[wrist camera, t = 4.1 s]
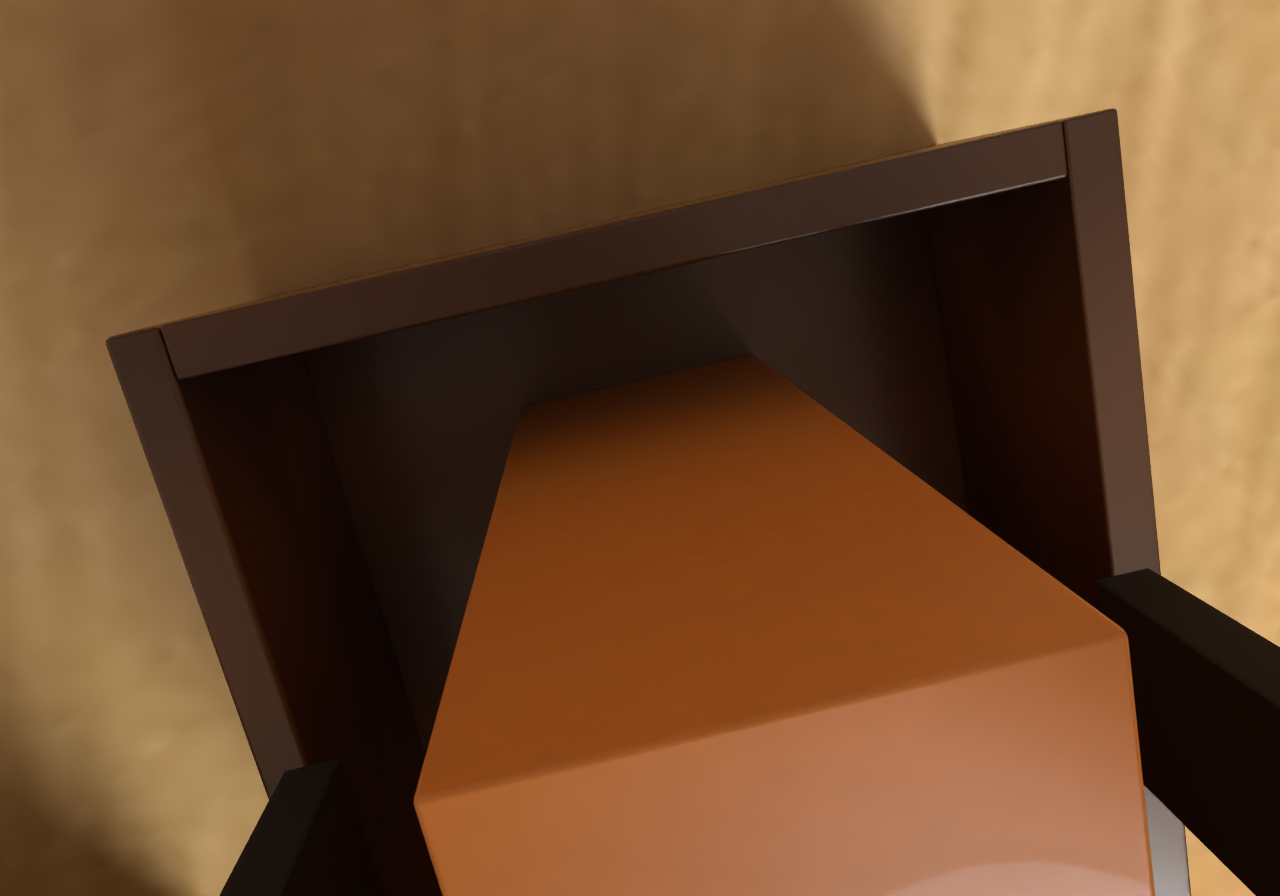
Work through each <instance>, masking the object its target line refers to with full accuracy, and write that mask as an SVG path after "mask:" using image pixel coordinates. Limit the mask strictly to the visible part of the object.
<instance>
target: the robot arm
mask: <svg viewBox="0 0 1280 896" xmlns="http://www.w3.org/2000/svg"><path fill="white" fill-rule="evenodd" d="M1094 583H1095V592H1096V601H1097V610H1098V611H1100V612H1101V613H1102V614H1104V615H1105V616H1106V617H1108V618H1109V619H1110V620H1112V621H1113V622H1114V623H1116V624H1117V625H1118V626H1120V627H1121V628H1122V629H1124V631H1125V632H1126V634H1127V636H1128V643H1129V652H1130V662H1131V671H1132V681H1133V690H1134V700H1135V709H1136V719H1137V728H1138V738H1139V747H1140V757H1141V766H1142V776H1143V785H1144V786H1145V787H1146V788H1147V789H1148V790H1149V791H1150V792H1151V793H1152V794H1153V795H1154V796H1155V797H1157V798H1158V799H1159V800H1160V801H1161V802H1162V803H1163V804H1164V805H1165V806H1166V807H1167V808H1168V809H1169V810H1170V811H1171V812H1172V813H1173V814H1174V815H1175V816H1176V817H1177V818H1178V819H1179V820H1180V821H1181V822H1182V823H1183V824H1184V825H1185V826H1186V827H1187V828H1188V829H1189V830H1190V831H1191V832H1192V833H1193V834H1194V835H1195V836H1196V837H1197V838H1198V839H1199V840H1200V841H1201V842H1202V843H1203V844H1204V845H1205V846H1206V847H1207V848H1208V849H1209V850H1210V851H1211V852H1212V853H1213V854H1214V855H1215V856H1216V857H1217V858H1218V859H1219V860H1220V861H1221V862H1222V863H1223V864H1224V865H1225V866H1226V867H1227V868H1228V869H1229V870H1230V871H1231V872H1233V873H1234V874H1235V875H1236V876H1237V877H1238V878H1239V879H1240V880H1241V881H1242V882H1243V883H1244V884H1245V885H1246V886H1247V887H1248V888H1249V889H1250V890H1251V891H1252V892H1253V893H1254V894H1255V895H1256V896H1280V647H1278V646H1277V645H1275V644H1273V643H1272V642H1270V641H1268V640H1267V639H1265V638H1263V637H1262V636H1260V635H1259V634H1257V633H1255V632H1254V631H1252V630H1250V629H1249V628H1247V627H1245V626H1244V625H1242V624H1240V623H1239V622H1237V621H1235V620H1234V619H1232V618H1230V617H1229V616H1227V615H1225V614H1224V613H1222V612H1220V611H1219V610H1217V609H1215V608H1214V607H1212V606H1210V605H1209V604H1207V603H1205V602H1204V601H1202V600H1200V599H1199V598H1197V597H1195V596H1194V595H1192V594H1190V593H1189V592H1187V591H1185V590H1184V589H1182V588H1181V587H1179V586H1177V585H1176V584H1174V583H1172V582H1171V581H1169V580H1167V579H1166V578H1164V577H1162V576H1161V575H1159V574H1157V573H1156V572H1154V571H1152V570H1151V569H1149V568H1146V569H1142V570H1137V571H1133V572H1129V573H1125V574H1120V575H1116V576H1112V577H1108V578H1103V579H1099V580H1095V581H1094ZM220 896H386V895H385V892H384V889H383V886H382V883H381V880H380V877H379V874H378V871H377V868H376V865H375V862H374V859H373V856H372V853H371V850H370V847H369V844H368V841H367V838H366V835H365V832H364V829H363V826H362V823H361V820H360V817H359V814H358V811H357V808H356V805H355V802H354V799H353V796H352V793H351V790H350V787H349V784H348V781H347V778H346V775H345V772H344V769H343V766H342V763H341V760H340V758H339V759H335V760H331V761H326V762H322V763H318V764H314V765H309V766H305V767H301V768H297V769H292V770H288V771H284V773H283V775H282V777H281V779H280V781H279V783H278V785H277V787H276V789H275V791H274V792H273V794H272V796H271V798H270V800H269V802H268V804H267V806H266V808H265V810H264V812H263V813H262V815H261V817H260V819H259V821H258V823H257V825H256V827H255V829H254V831H253V833H252V834H251V836H250V838H249V840H248V842H247V844H246V846H245V848H244V850H243V852H242V854H241V855H240V857H239V859H238V861H237V863H236V865H235V867H234V869H233V871H232V873H231V875H230V876H229V878H228V880H227V882H226V884H225V886H224V888H223V890H222V892H221V894H220Z"/></svg>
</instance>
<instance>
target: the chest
mask: <svg viewBox="0 0 1280 896" xmlns="http://www.w3.org/2000/svg"><path fill="white" fill-rule="evenodd" d="M106 346H107V349H108V351H109V354H110V357H111V360H112V363H113V365H114V368H115V371H116V374H117V376H118V379H119V382H120V385H121V388H122V390H123V393H124V396H125V399H126V402H127V404H128V407H129V410H130V413H131V416H132V418H133V421H134V424H135V427H136V430H137V432H138V435H139V438H140V441H141V444H142V446H143V449H144V452H145V455H146V458H147V460H148V463H149V466H150V469H151V471H152V474H153V477H154V480H155V483H156V485H157V488H158V491H159V494H160V497H161V499H162V502H163V505H164V508H165V511H166V513H167V516H168V519H169V522H170V525H171V527H172V530H173V533H174V536H175V539H176V541H177V544H178V547H179V550H180V553H181V555H182V558H183V561H184V564H185V567H186V569H187V572H188V575H189V578H190V580H191V583H192V586H193V589H194V592H195V594H196V597H197V600H198V603H199V606H200V608H201V611H202V614H203V617H204V620H205V622H206V625H207V628H208V631H209V634H210V636H211V639H212V642H213V645H214V648H215V650H216V653H217V656H218V659H219V662H220V664H221V667H222V670H223V673H224V675H225V678H226V681H227V684H228V687H229V689H230V692H231V695H232V698H233V701H234V703H235V706H236V709H237V712H238V715H239V717H240V720H241V723H242V726H243V729H244V731H245V734H246V737H247V740H248V743H249V745H250V748H251V751H252V754H253V757H254V759H255V762H256V765H257V768H258V770H259V773H260V776H261V779H262V782H263V784H264V787H265V790H266V793H267V796H268V798H269V800H270V798H271V796H272V794H273V792H274V791H275V789H276V787H277V785H278V783H279V781H280V779H281V777H282V775H283V773H284V771H288V770H292V769H297V768H301V767H305V766H309V765H314V764H318V763H322V762H326V761H331V760H335V759H339V758H340V760H341V763H342V766H343V769H344V772H345V775H346V778H347V781H348V784H349V787H350V790H351V793H352V796H353V799H354V802H355V805H356V808H357V811H358V814H359V817H360V820H361V823H362V826H363V829H364V832H365V835H366V838H367V841H368V844H369V847H370V850H371V853H372V856H373V859H374V862H375V865H376V868H377V871H378V874H379V877H380V880H381V883H382V886H383V889H384V892H385V895H386V896H443V895H442V892H441V889H440V886H439V883H438V880H437V876H436V873H435V870H434V867H433V864H432V861H431V857H430V854H429V851H428V848H427V845H426V842H425V839H424V835H423V832H422V829H421V826H420V823H419V820H418V816H417V813H416V810H415V807H414V804H413V803H414V796H415V793H416V789H417V786H418V782H419V778H420V775H421V771H422V767H423V764H424V760H425V756H426V753H427V749H428V745H429V742H430V738H431V734H432V731H433V727H434V724H435V720H436V716H437V713H438V709H439V705H440V702H441V698H442V694H443V691H444V687H445V683H446V680H447V676H448V673H449V669H450V665H451V662H452V658H453V654H454V651H455V647H456V643H457V640H458V636H459V632H460V629H461V625H462V621H463V618H464V614H465V611H466V607H467V603H468V600H469V596H470V592H471V589H472V585H473V581H474V578H475V574H476V570H477V567H478V563H479V560H480V556H481V552H482V549H483V545H484V541H485V538H486V534H487V530H488V527H489V523H490V519H491V516H492V512H493V508H494V505H495V501H496V498H497V494H498V490H499V487H500V483H501V479H502V476H503V472H504V468H505V465H506V461H507V457H508V454H509V450H510V447H511V443H512V439H513V436H514V432H515V428H516V425H517V421H518V417H519V414H520V410H521V408H522V407H526V406H530V405H535V404H539V403H543V402H548V401H552V400H556V399H561V398H565V397H569V396H574V395H578V394H582V393H587V392H591V391H595V390H600V389H604V388H608V387H613V386H617V385H621V384H626V383H630V382H634V381H639V380H643V379H647V378H652V377H656V376H660V375H665V374H669V373H673V372H678V371H682V370H686V369H691V368H695V367H699V366H704V365H708V364H712V363H717V362H721V361H726V360H730V359H734V358H739V357H743V356H747V355H754V356H755V357H757V358H758V359H760V360H761V361H762V362H764V363H765V364H766V365H768V366H769V367H770V368H772V369H773V370H774V371H776V372H777V373H778V374H780V375H781V376H782V377H784V378H785V379H787V380H788V381H789V382H791V383H792V384H793V385H795V386H796V387H797V388H799V389H800V390H801V391H803V392H804V393H805V394H807V395H808V396H809V397H811V398H812V399H813V400H815V401H816V402H818V403H819V404H820V405H822V406H823V407H824V408H826V409H827V410H828V411H830V412H831V413H832V414H834V415H835V416H836V417H838V418H839V419H840V420H842V421H843V422H845V423H846V424H847V425H849V426H850V427H851V428H853V429H854V430H855V431H857V432H858V433H859V434H861V435H862V436H863V437H865V438H866V439H867V440H869V441H870V442H872V443H873V444H874V445H876V446H877V447H878V448H880V449H881V450H882V451H884V452H885V453H886V454H888V455H889V456H890V457H892V458H893V459H894V460H896V461H897V462H898V463H900V464H901V465H903V466H904V467H905V468H907V469H908V470H909V471H911V472H912V473H913V474H915V475H916V476H917V477H919V478H920V479H921V480H923V481H924V482H925V483H927V484H928V485H930V486H931V487H932V488H934V489H935V490H936V491H938V492H939V493H940V494H942V495H943V496H944V497H946V498H947V499H948V500H950V501H951V502H952V503H954V504H955V505H957V506H958V507H959V508H961V509H962V510H963V511H965V512H966V513H967V514H969V515H970V516H971V517H973V518H974V519H975V520H977V521H978V522H979V523H981V524H982V525H983V526H985V527H986V528H988V529H989V530H990V531H992V532H993V533H994V534H996V535H997V536H998V537H1000V538H1001V539H1002V540H1004V541H1005V542H1006V543H1008V544H1009V545H1010V546H1012V547H1013V548H1015V549H1016V550H1017V551H1019V552H1020V553H1021V554H1023V555H1024V556H1025V557H1027V558H1028V559H1029V560H1031V561H1032V562H1033V563H1035V564H1036V565H1037V566H1039V567H1040V568H1042V569H1043V570H1044V571H1046V572H1047V573H1048V574H1050V575H1051V576H1052V577H1054V578H1055V579H1056V580H1058V581H1059V582H1060V583H1062V584H1063V585H1064V586H1066V587H1067V588H1068V589H1070V590H1071V591H1073V592H1074V593H1075V594H1077V595H1078V596H1079V597H1081V598H1082V599H1083V600H1085V601H1086V602H1087V603H1089V604H1090V605H1091V606H1093V607H1094V608H1095V609H1097V601H1096V592H1095V583H1094V581H1095V580H1099V579H1103V578H1108V577H1112V576H1116V575H1120V574H1125V573H1129V572H1133V571H1137V570H1142V569H1146V568H1149V569H1151V570H1152V571H1154V572H1156V573H1157V574H1159V575H1161V572H1160V561H1159V551H1158V540H1157V530H1156V519H1155V509H1154V498H1153V487H1152V477H1151V466H1150V456H1149V445H1148V435H1147V424H1146V413H1145V403H1144V392H1143V382H1142V371H1141V360H1140V350H1139V339H1138V329H1137V318H1136V308H1135V297H1134V286H1133V276H1132V265H1131V255H1130V244H1129V234H1128V223H1127V212H1126V202H1125V191H1124V181H1123V170H1122V160H1121V149H1120V138H1119V128H1118V117H1117V111H1116V109H1107V110H1102V111H1097V112H1093V113H1088V114H1083V115H1078V116H1073V117H1069V118H1064V119H1059V120H1054V121H1049V122H1045V123H1040V124H1035V125H1030V126H1025V127H1021V128H1016V129H1011V130H1006V131H1001V132H997V133H992V134H987V135H982V136H977V137H973V138H968V139H963V140H958V141H953V142H949V143H944V144H939V145H935V146H930V147H926V148H921V149H917V150H913V151H908V152H904V153H899V154H895V155H891V156H886V157H882V158H877V159H873V160H869V161H864V162H860V163H856V164H851V165H847V166H842V167H838V168H834V169H829V170H825V171H820V172H816V173H812V174H807V175H803V176H798V177H794V178H790V179H785V180H781V181H777V182H772V183H768V184H763V185H759V186H755V187H750V188H746V189H741V190H737V191H733V192H728V193H724V194H719V195H715V196H711V197H706V198H702V199H698V200H693V201H689V202H684V203H680V204H676V205H671V206H667V207H662V208H658V209H654V210H649V211H645V212H640V213H636V214H632V215H627V216H623V217H619V218H614V219H610V220H605V221H601V222H597V223H592V224H588V225H583V226H579V227H575V228H570V229H566V230H561V231H557V232H553V233H548V234H544V235H540V236H535V237H531V238H526V239H522V240H518V241H513V242H509V243H504V244H500V245H496V246H491V247H487V248H483V249H478V250H474V251H469V252H465V253H461V254H456V255H452V256H447V257H443V258H439V259H434V260H430V261H425V262H421V263H417V264H412V265H408V266H404V267H399V268H395V269H390V270H386V271H382V272H377V273H373V274H368V275H364V276H360V277H355V278H351V279H346V280H342V281H338V282H333V283H329V284H325V285H320V286H316V287H311V288H307V289H303V290H298V291H294V292H289V293H285V294H281V295H276V296H272V297H267V298H263V299H259V300H255V301H251V302H247V303H243V304H239V305H235V306H231V307H227V308H223V309H219V310H215V311H211V312H207V313H203V314H199V315H195V316H191V317H187V318H183V319H179V320H175V321H171V322H167V323H163V324H159V325H155V326H151V327H147V328H143V329H139V330H135V331H131V332H127V333H123V334H119V335H115V336H111V337H110V338H108V339H107V340H106ZM1144 795H1145V804H1146V814H1147V823H1148V833H1149V842H1150V852H1151V861H1152V871H1153V880H1154V890H1155V896H1191V889H1190V879H1189V868H1188V858H1187V847H1186V836H1185V826H1184V824H1183V823H1182V822H1181V821H1180V820H1179V819H1178V818H1177V817H1176V816H1175V815H1174V814H1173V813H1172V812H1171V811H1170V810H1169V809H1168V808H1167V807H1166V806H1165V805H1164V804H1163V803H1162V802H1161V801H1160V800H1159V799H1158V798H1157V797H1155V796H1154V795H1153V794H1152V793H1151V792H1150V791H1149V790H1148V789H1147V788H1146V787H1145V786H1144Z"/></svg>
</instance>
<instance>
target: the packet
mask: <svg viewBox="0 0 1280 896" xmlns="http://www.w3.org/2000/svg"><path fill="white" fill-rule="evenodd" d="M413 804H414V807H415V810H416V813H417V816H418V820H419V823H420V826H421V829H422V832H423V835H424V839H425V842H426V845H427V848H428V851H429V854H430V857H431V861H432V864H433V867H434V870H435V873H436V876H437V880H438V883H439V886H440V889H441V892H442V895H443V896H1155V890H1154V880H1153V871H1152V861H1151V852H1150V842H1149V833H1148V823H1147V814H1146V804H1145V795H1144V785H1143V776H1142V766H1141V757H1140V747H1139V738H1138V728H1137V719H1136V709H1135V700H1134V690H1133V681H1132V671H1131V662H1130V652H1129V643H1128V636H1127V634H1126V632H1125V631H1124V629H1122V628H1121V627H1120V626H1118V625H1117V624H1116V623H1114V622H1113V621H1112V620H1110V619H1109V618H1108V617H1106V616H1105V615H1104V614H1102V613H1101V612H1100V611H1098V610H1097V609H1095V608H1094V607H1093V606H1091V605H1090V604H1089V603H1087V602H1086V601H1085V600H1083V599H1082V598H1081V597H1079V596H1078V595H1077V594H1075V593H1074V592H1073V591H1071V590H1070V589H1068V588H1067V587H1066V586H1064V585H1063V584H1062V583H1060V582H1059V581H1058V580H1056V579H1055V578H1054V577H1052V576H1051V575H1050V574H1048V573H1047V572H1046V571H1044V570H1043V569H1042V568H1040V567H1039V566H1037V565H1036V564H1035V563H1033V562H1032V561H1031V560H1029V559H1028V558H1027V557H1025V556H1024V555H1023V554H1021V553H1020V552H1019V551H1017V550H1016V549H1015V548H1013V547H1012V546H1010V545H1009V544H1008V543H1006V542H1005V541H1004V540H1002V539H1001V538H1000V537H998V536H997V535H996V534H994V533H993V532H992V531H990V530H989V529H988V528H986V527H985V526H983V525H982V524H981V523H979V522H978V521H977V520H975V519H974V518H973V517H971V516H970V515H969V514H967V513H966V512H965V511H963V510H962V509H961V508H959V507H958V506H957V505H955V504H954V503H952V502H951V501H950V500H948V499H947V498H946V497H944V496H943V495H942V494H940V493H939V492H938V491H936V490H935V489H934V488H932V487H931V486H930V485H928V484H927V483H925V482H924V481H923V480H921V479H920V478H919V477H917V476H916V475H915V474H913V473H912V472H911V471H909V470H908V469H907V468H905V467H904V466H903V465H901V464H900V463H898V462H897V461H896V460H894V459H893V458H892V457H890V456H889V455H888V454H886V453H885V452H884V451H882V450H881V449H880V448H878V447H877V446H876V445H874V444H873V443H872V442H870V441H869V440H867V439H866V438H865V437H863V436H862V435H861V434H859V433H858V432H857V431H855V430H854V429H853V428H851V427H850V426H849V425H847V424H846V423H845V422H843V421H842V420H840V419H839V418H838V417H836V416H835V415H834V414H832V413H831V412H830V411H828V410H827V409H826V408H824V407H823V406H822V405H820V404H819V403H818V402H816V401H815V400H813V399H812V398H811V397H809V396H808V395H807V394H805V393H804V392H803V391H801V390H800V389H799V388H797V387H796V386H795V385H793V384H792V383H791V382H789V381H788V380H787V379H785V378H784V377H782V376H781V375H780V374H778V373H777V372H776V371H774V370H773V369H772V368H770V367H769V366H768V365H766V364H765V363H764V362H762V361H761V360H760V359H758V358H757V357H755V356H754V355H747V356H743V357H739V358H734V359H730V360H726V361H721V362H717V363H712V364H708V365H704V366H699V367H695V368H691V369H686V370H682V371H678V372H673V373H669V374H665V375H660V376H656V377H652V378H647V379H643V380H639V381H634V382H630V383H626V384H621V385H617V386H613V387H608V388H604V389H600V390H595V391H591V392H587V393H582V394H578V395H574V396H569V397H565V398H561V399H556V400H552V401H548V402H543V403H539V404H535V405H530V406H526V407H522V408H521V410H520V414H519V417H518V421H517V425H516V428H515V432H514V436H513V439H512V443H511V447H510V450H509V454H508V457H507V461H506V465H505V468H504V472H503V476H502V479H501V483H500V487H499V490H498V494H497V498H496V501H495V505H494V508H493V512H492V516H491V519H490V523H489V527H488V530H487V534H486V538H485V541H484V545H483V549H482V552H481V556H480V560H479V563H478V567H477V570H476V574H475V578H474V581H473V585H472V589H471V592H470V596H469V600H468V603H467V607H466V611H465V614H464V618H463V621H462V625H461V629H460V632H459V636H458V640H457V643H456V647H455V651H454V654H453V658H452V662H451V665H450V669H449V673H448V676H447V680H446V683H445V687H444V691H443V694H442V698H441V702H440V705H439V709H438V713H437V716H436V720H435V724H434V727H433V731H432V734H431V738H430V742H429V745H428V749H427V753H426V756H425V760H424V764H423V767H422V771H421V775H420V778H419V782H418V786H417V789H416V793H415V796H414V803H413Z"/></svg>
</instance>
